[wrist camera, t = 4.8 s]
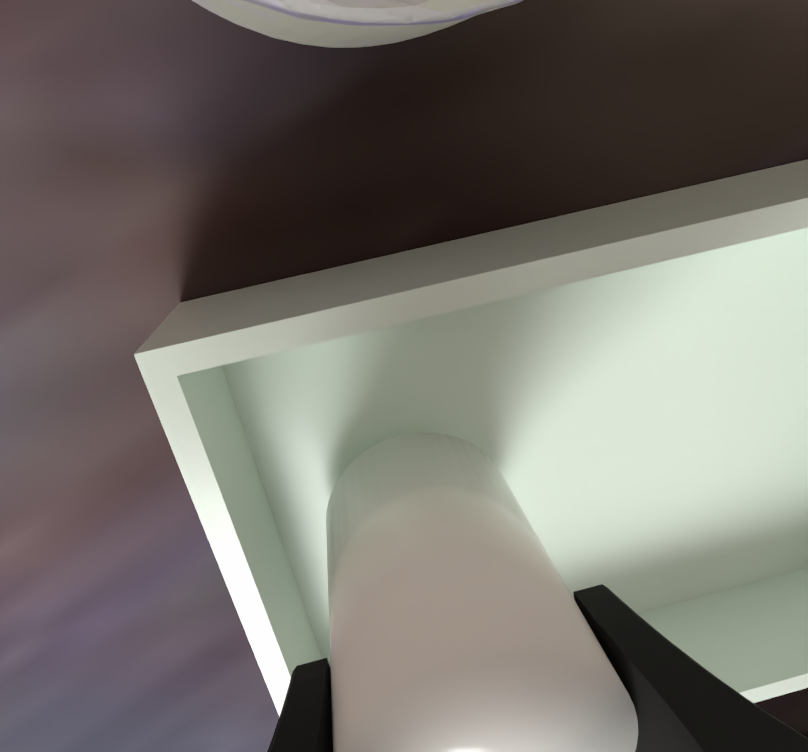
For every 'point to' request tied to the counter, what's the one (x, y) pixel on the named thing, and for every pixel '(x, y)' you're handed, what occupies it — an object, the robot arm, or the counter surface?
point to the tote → (530, 412)
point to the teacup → (349, 18)
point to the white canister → (456, 615)
